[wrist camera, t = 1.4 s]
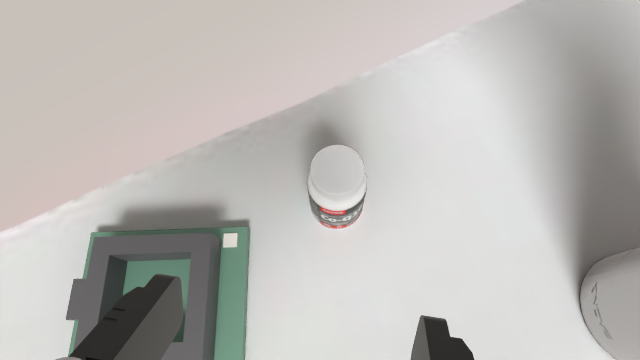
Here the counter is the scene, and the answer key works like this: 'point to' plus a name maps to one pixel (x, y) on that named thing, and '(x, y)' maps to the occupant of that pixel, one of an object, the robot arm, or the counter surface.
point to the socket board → (196, 280)
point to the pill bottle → (337, 186)
